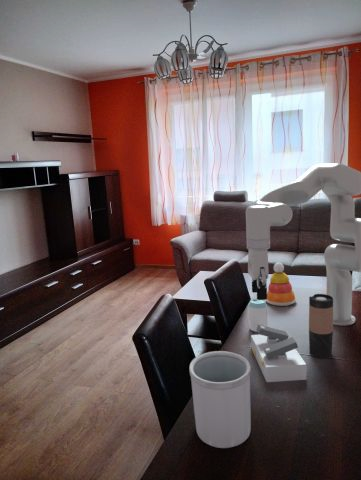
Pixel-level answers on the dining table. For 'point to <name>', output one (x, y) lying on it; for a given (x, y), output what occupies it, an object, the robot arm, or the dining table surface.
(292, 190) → the robot arm
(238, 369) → the utensil holder
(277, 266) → the stacking toy
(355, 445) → the dining table surface
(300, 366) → the switch housing
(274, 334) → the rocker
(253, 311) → the can
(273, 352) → the block
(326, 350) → the travel mug
